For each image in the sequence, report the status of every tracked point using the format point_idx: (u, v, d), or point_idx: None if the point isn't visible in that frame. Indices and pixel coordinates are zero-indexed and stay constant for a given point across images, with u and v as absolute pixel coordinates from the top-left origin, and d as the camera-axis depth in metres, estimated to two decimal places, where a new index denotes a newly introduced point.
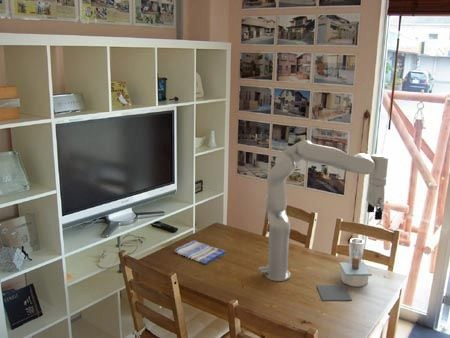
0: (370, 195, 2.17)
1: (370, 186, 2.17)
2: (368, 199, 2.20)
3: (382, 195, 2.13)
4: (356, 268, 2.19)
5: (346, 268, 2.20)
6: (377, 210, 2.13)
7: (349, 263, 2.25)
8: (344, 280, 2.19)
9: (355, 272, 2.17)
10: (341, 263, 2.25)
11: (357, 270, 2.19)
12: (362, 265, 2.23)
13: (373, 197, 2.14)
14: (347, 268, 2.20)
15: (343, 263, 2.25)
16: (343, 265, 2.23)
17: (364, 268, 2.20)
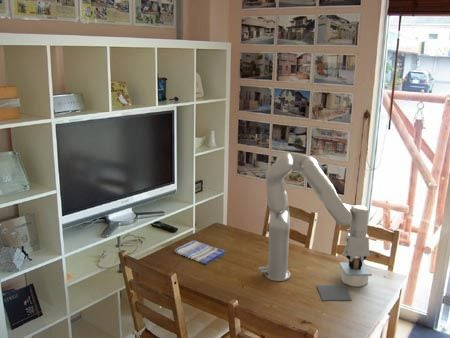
0: (359, 248, 2.15)
1: (357, 240, 2.14)
2: (354, 253, 2.16)
3: None
4: (356, 268, 2.19)
5: (346, 268, 2.20)
6: (363, 260, 2.18)
7: None
8: (344, 280, 2.19)
9: (355, 272, 2.17)
10: (341, 263, 2.25)
11: (357, 270, 2.19)
12: (362, 265, 2.23)
13: (366, 247, 2.15)
14: (347, 268, 2.20)
15: (343, 263, 2.25)
16: (343, 265, 2.23)
17: (364, 268, 2.20)
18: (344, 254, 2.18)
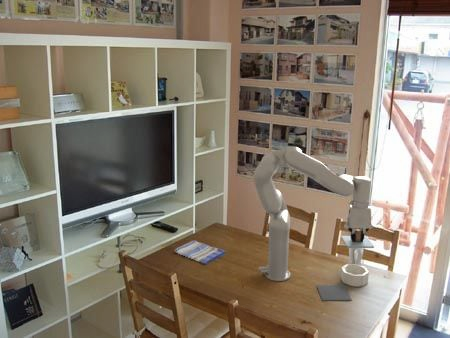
0: (361, 219, 2.11)
1: (359, 211, 2.10)
2: (356, 225, 2.12)
3: None
4: (358, 241, 2.15)
5: (347, 241, 2.17)
6: (365, 232, 2.15)
7: None
8: (344, 280, 2.19)
9: (357, 244, 2.13)
10: (343, 236, 2.22)
11: (359, 242, 2.15)
12: (364, 238, 2.20)
13: (368, 219, 2.11)
14: (349, 241, 2.17)
15: (345, 237, 2.21)
16: (345, 238, 2.20)
17: (366, 241, 2.17)
18: (346, 226, 2.14)
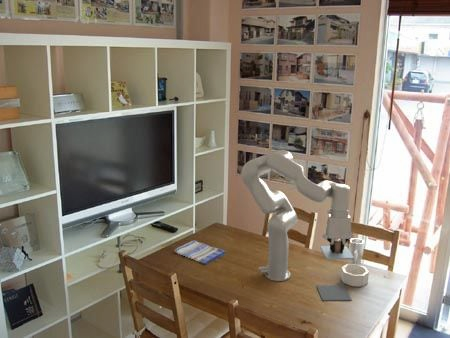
0: (340, 229, 2.01)
1: (338, 221, 2.00)
2: (335, 235, 2.01)
3: None
4: (337, 252, 2.05)
5: (326, 252, 2.06)
6: None
7: None
8: (344, 280, 2.19)
9: (336, 256, 2.02)
10: (322, 247, 2.11)
11: (339, 253, 2.04)
12: (344, 249, 2.09)
13: (348, 229, 2.01)
14: (328, 252, 2.06)
15: (324, 247, 2.10)
16: (324, 249, 2.09)
17: (346, 252, 2.06)
18: (325, 236, 2.04)
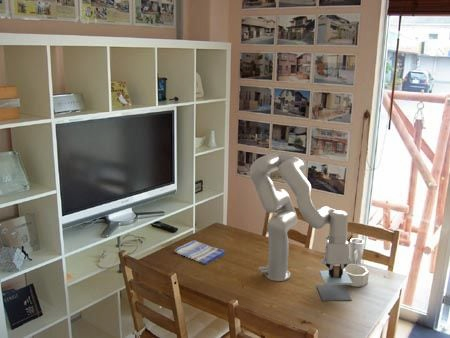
0: (338, 255, 2.04)
1: (337, 247, 2.03)
2: (334, 261, 2.04)
3: None
4: (336, 277, 2.08)
5: (325, 277, 2.09)
6: (343, 268, 2.07)
7: None
8: None
9: (335, 281, 2.05)
10: (321, 271, 2.14)
11: (338, 278, 2.07)
12: (343, 273, 2.12)
13: (346, 255, 2.04)
14: (327, 277, 2.09)
15: (323, 272, 2.13)
16: (323, 273, 2.12)
17: (345, 277, 2.09)
18: (323, 262, 2.07)
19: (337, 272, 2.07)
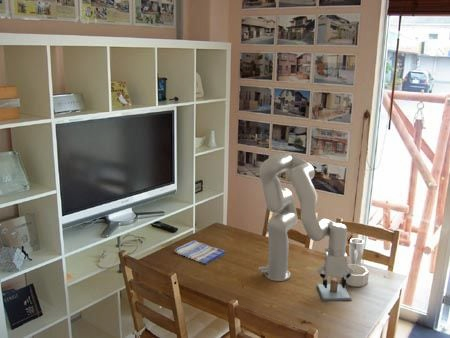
0: (337, 267, 2.05)
1: (335, 259, 2.04)
2: (333, 273, 2.06)
3: None
4: (334, 291, 2.10)
5: (324, 291, 2.11)
6: None
7: (328, 285, 2.16)
8: None
9: (333, 295, 2.07)
10: (319, 285, 2.16)
11: (336, 293, 2.09)
12: (341, 287, 2.14)
13: (345, 267, 2.06)
14: (325, 291, 2.11)
15: (321, 285, 2.16)
16: (321, 287, 2.14)
17: (343, 291, 2.11)
18: (319, 271, 2.08)
19: (335, 286, 2.09)
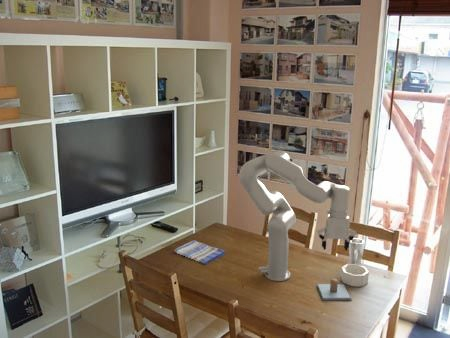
0: (338, 230, 2.04)
1: (337, 221, 2.03)
2: (334, 235, 2.05)
3: None
4: (334, 291, 2.10)
5: (324, 291, 2.11)
6: (350, 240, 2.07)
7: (328, 285, 2.16)
8: (344, 280, 2.19)
9: (333, 295, 2.07)
10: (319, 285, 2.16)
11: (336, 293, 2.09)
12: (341, 287, 2.14)
13: (346, 230, 2.04)
14: (325, 291, 2.11)
15: (321, 285, 2.16)
16: (321, 287, 2.14)
17: (343, 291, 2.11)
18: (319, 232, 2.07)
19: (335, 286, 2.09)
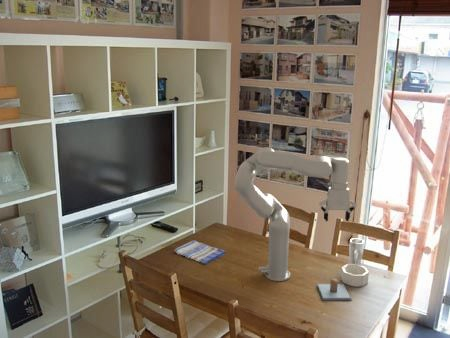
0: (339, 201, 2.11)
1: (338, 192, 2.10)
2: (335, 206, 2.12)
3: None
4: (334, 291, 2.10)
5: (324, 291, 2.11)
6: (350, 211, 2.14)
7: (328, 285, 2.16)
8: (344, 280, 2.19)
9: (333, 295, 2.07)
10: (319, 285, 2.16)
11: (336, 293, 2.09)
12: (341, 287, 2.14)
13: (347, 201, 2.11)
14: (325, 291, 2.11)
15: (321, 285, 2.16)
16: (321, 287, 2.14)
17: (343, 291, 2.11)
18: (321, 204, 2.14)
19: (335, 286, 2.09)
